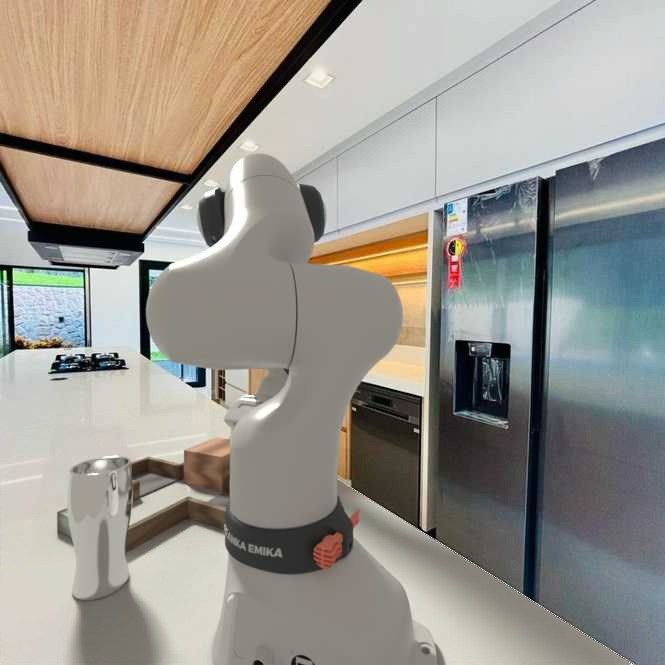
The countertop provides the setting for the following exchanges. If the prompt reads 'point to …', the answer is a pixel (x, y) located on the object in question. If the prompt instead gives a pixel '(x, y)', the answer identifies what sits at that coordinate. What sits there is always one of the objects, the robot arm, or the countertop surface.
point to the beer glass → (100, 524)
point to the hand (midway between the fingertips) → (246, 445)
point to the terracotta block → (208, 464)
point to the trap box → (155, 476)
